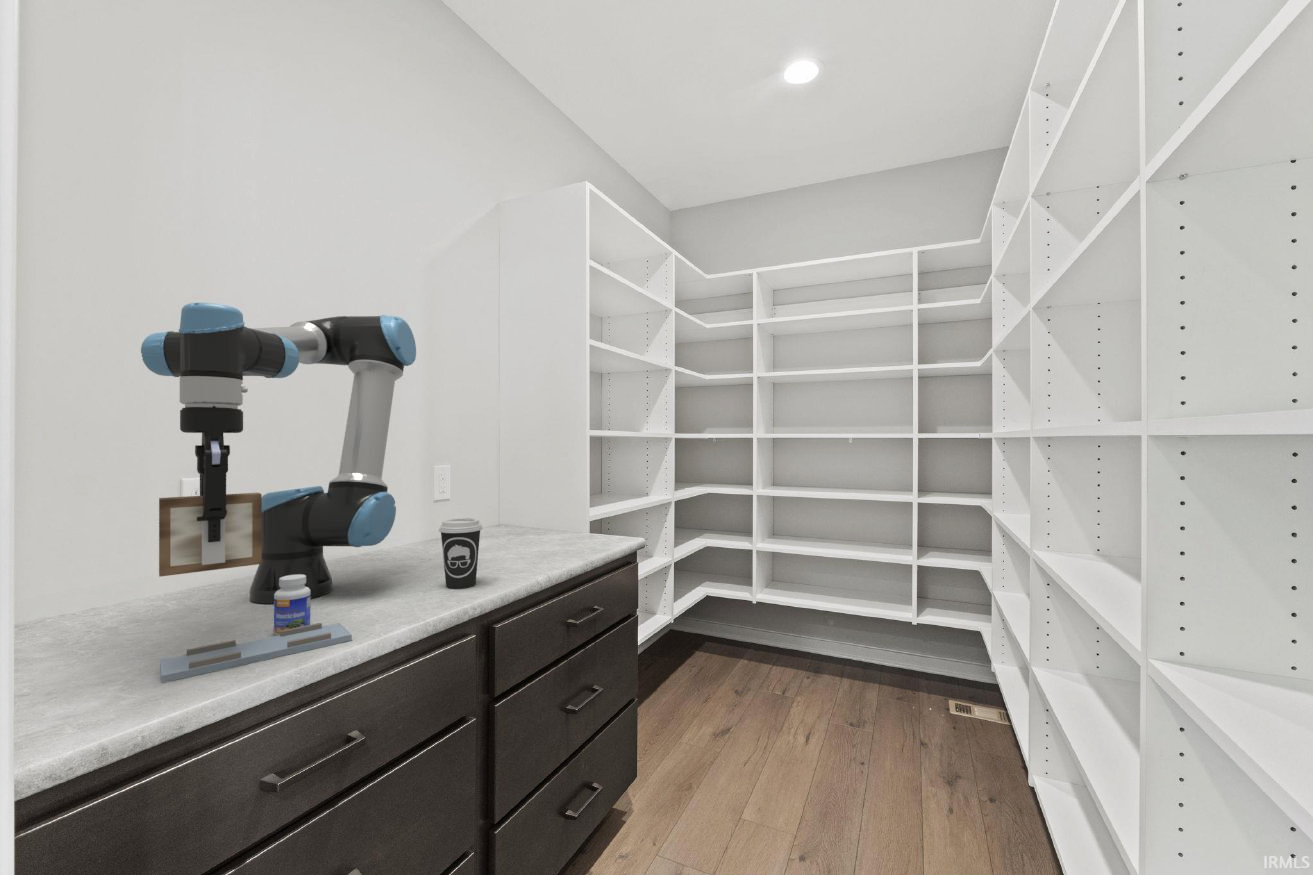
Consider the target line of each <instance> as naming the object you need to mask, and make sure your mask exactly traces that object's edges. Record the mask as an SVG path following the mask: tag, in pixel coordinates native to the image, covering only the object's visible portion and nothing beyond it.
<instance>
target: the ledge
mask: <svg viewBox="0 0 1313 875" xmlns="http://www.w3.org/2000/svg"><path fill="white" fill-rule="evenodd" d="M350 641H353V640H352V633H351V632H350V631H349V630H347V628H346V627H344V626H343V625H342V624H341V623H340V622H338V623H333V624H328V625H323V624H322V622H318V623H312V624H310V625H307V626H302V627H297V628H292V629H287V630H281V631H280V635H278V636H276V635H273V636H269V637H265V638H264V637H263V638H258V639H254V640H248V641H244V642H238V643H237V640H236V639H233V640H226V641H220V642H217V643H212V644H211V643H210V644H206V645H202V646H197V647H196V646H195V647H191V648H186V653H184V654H180V655H174V656H170V657H165V658H160V664H159V666H160V681H161V682H160V683H161V684H163V683H167V682H172V681H176V680H181V679H185V678H190V677H194V676H199V675H204V674H208V673H211V672H216V671H217V672H218V671H222V670H226V669H230V668H235V667H239V666H243V665H249V664H252V663H253V664H254V663H258V662H262V661H266V660H270V659H275V658H279V657H284V656H287V655H292V654H296V653H297V654H298V653H303V652H306V651H311V650H316V649H319V648H323V647H328V646H332V645H338V644H342V643H347V642H350Z"/></svg>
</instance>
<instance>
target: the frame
mask: <svg viewBox="0 0 1313 875" xmlns="http://www.w3.org/2000/svg"><path fill="white" fill-rule="evenodd" d="M262 497H263V495H262V493H260V492H248V493H247V492H245V493H243V492H242V493H230V494H229V493H226V510H227V514H226V517H225V562H224V563H215V564H207V565H202V521H197V517H202V515H203V496H200V495H190V496H189V495H188V496H173V497H172V496H171V497H158V512H159V513H158V566H159V567H158V576H159V578H160V577H169V576H174V575H175V576H177V575H182V574H183V575H186V574H193V573H200V572H207V571H215V570H224V569H233V568H240V567H241V568H242V567H249V566H256V565H259V564H262Z"/></svg>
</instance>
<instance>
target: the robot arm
mask: <svg viewBox="0 0 1313 875" xmlns="http://www.w3.org/2000/svg"><path fill="white" fill-rule="evenodd" d="M140 346H141V347H140V354H141V357H142V362H143V364H144V365H145V367H146V368H147V369H148V370H149V371H150V372H152V373H154V374H156V375H158V376H162V377H163V376H164V377H174V378H179V403H180V404H182V405H184V407H182V408H181V409H180V410H179V424H180V425H179V430H180V431H181V432H182V433H187V434H191V433H192V434H198V433H199V434H201V445H197V444H196V445H195V446H194V454H195V455H194V456H195V457H196V471H197V473H198V474H199V496H203V515H202V517H197V521H202V565H207V564H215V563H224V562H225V517H226V514H227V510H226V494H227V474H228V472H229V456H230V454H231V447H230V444H227V445H226V444H225V443H224V442H225V440H224V438H225V436H224V434H239V433H242V432H243V431H244V411H242V409H240V408H238V407H239V406H242V405H243V404H244V403H243V401H244V397H243V396H244V395H243V394H246V393H248V391H249V390H248V387H246V386H242V385H243V382H244V377H264V378H267V379H283V378H286V377H289V376H291V375H293V374H294V372H295V371H296V370H297V369H298V367H299V365H300V364H303V365H314V364H315V365H316V364H317V365H318V364H319V365H320V364H321V365H322V364H323V365H337V366H338V365H339V366H348V369H349V370H350V372H352V373H353V375H354V376H353V381H352V388H351V393H350V400H349V406H348V411H347V419H346V426H345V432H344V437H343V446H342V450H341V457H340V465H339V470H338V475H337V476H336V477H334V478H333V479H332V480H330V481H329V483H328V488H327V492H325V489H324V488H323V486H321V485H317V486H309V487H303V488H295V489H286V490H280V491H279V490H278V491H271V492H268V493H264V494H263V495H262V564H258V566H257V569H256V571H255V574H254V577H253V581H252V582H251V585H250V588H249V601H250V602H252V603H256V604H274V594H275V592H276V591H278V590H280V589H281V587H279V578H281V577H284V576H288V575H300V574H301V575H306V584H304V586H305V587H308V588H309V589H310V595H311V599H313V598H317V597H321V596H323V595H326V594H327V593H329V592H331V591H332V590H333V579H332V578H333V577H332V575H331V572H330V570H329V567H328V565H327V564H328V563H326V559H325V557H324V547H351V548H352V547H354V548H360V547H369V546H370V547H371V546H377V545H378V544H380V543H381V542H383V541H384V540H385V539H386V537H387V536H388V535H389V533H390V532H391V531H392V528H393V525H394V523H395V519H396V515H397V506H396V501H395V498H394V496H393V495H392V494H390V493H389V492H388V488H389V487H388V485H387V484H386V483H385V482H384V481H383V478H382V476H383V470H384V463H385V458H386V457H385V455H386V449H387V448H386V447H387V441H388V434H389V428H390V422H391V421H390V419H391V413H392V412H391V411H392V406H393V397H394V390H395V389H394V388H395V383H396V381H397V380H399V379H401V378H402V377H403V375H404V371H405V370H404V368H405V367H408V366H412V365H413V364H414V362H415V360H416V357H417V344H416V340H415V337H414V334H413V331H412V329H411V327H410V325H409V324H408V322H407V321H406V320H405V319H404V318H402V317H399V316H395V315H393V316H392V315H389V316H388V315H385V314H382V315H377V316H376V315H374V316H372V315H366V316H364V315H363V316H362V315H361V316H358V315H357V316H355V315H354V316H353V315H351V316H347V315H345V316H344V315H343V316H338V315H337V316H331V317H326V318H320V319H313V320H308V321H307V320H306V321H305V320H304V321H296V322H294V323H292V324H291V325H290V326H278V327H254V328H250V327H247V326H245V321H244V314H243V312H242V311H240V309H238V308H237V307H234V306H230V305H225V304H222V303H221V304H220V303H214V302H190V303H187V304H185V305H183V307H182V308H181V311H180V324H179V329H178V331H173V330H171V331H169V330H167V331H165V332H164V331H163V332H162V331H161V332H155V333H150V334H149V335H148V336H146V337H145V338H144V340H143V342H142V343H141V345H140ZM299 363H300V364H299Z"/></svg>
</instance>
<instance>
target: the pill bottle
mask: <svg viewBox="0 0 1313 875" xmlns="http://www.w3.org/2000/svg"><path fill="white" fill-rule="evenodd" d="M304 584H306V575H301V574H300V575H288V576H284V577H281V578H279V587H281V589H280V590H278V591H276V592H275V594H274V603H273V634H274V635H273V636H278V635H280V631H281V630H287V629H292V628H297V627H302V626H307V625H311V601H312V600H311V599H312V598H311V595H310V589H309V588H308V587H305V586H304Z"/></svg>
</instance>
